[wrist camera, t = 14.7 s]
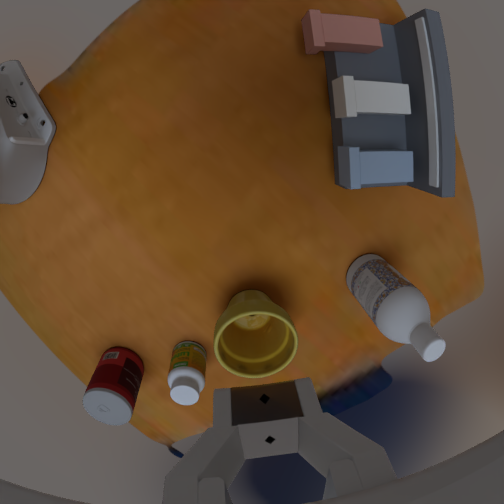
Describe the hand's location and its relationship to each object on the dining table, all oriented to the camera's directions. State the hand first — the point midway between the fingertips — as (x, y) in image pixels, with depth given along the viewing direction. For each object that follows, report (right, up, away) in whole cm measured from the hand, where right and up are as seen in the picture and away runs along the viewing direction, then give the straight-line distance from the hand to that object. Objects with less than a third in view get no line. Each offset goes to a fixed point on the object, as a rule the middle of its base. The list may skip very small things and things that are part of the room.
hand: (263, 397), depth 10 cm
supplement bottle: (-10, -12, +40) cm, 43 cm away
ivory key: (+13, +23, +25) cm, 36 cm away
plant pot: (-1, -4, +38) cm, 38 cm away
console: (+16, +25, +29) cm, 41 cm away
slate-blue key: (+14, +15, +27) cm, 34 cm away
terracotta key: (+10, +30, +22) cm, 38 cm away
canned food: (-22, -14, +40) cm, 48 cm away
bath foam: (+17, +1, +38) cm, 41 cm away
